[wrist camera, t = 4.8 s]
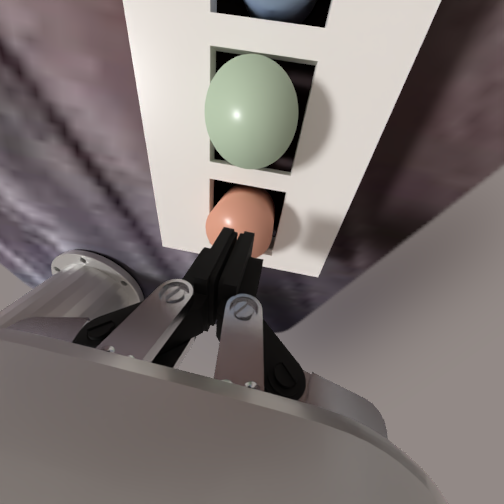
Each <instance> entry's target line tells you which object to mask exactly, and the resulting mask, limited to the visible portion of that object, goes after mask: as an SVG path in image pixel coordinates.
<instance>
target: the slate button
mask: <svg viewBox="0 0 504 504" xmlns="http://www.w3.org/2000/svg"><path fill="white" fill-rule="evenodd" d="M243 2H244V4H245V7H246V9H247V11H248V13H249V15H250V17H251V18H257V19H264V20H272V21H279V22H286V23H293V24H301V23H302V22H303V21H304V20H305V19H306V18H307V16H308V15H309V14H310V12H311V11H312V9H313V8H314V6H315V4H316V2H317V0H243Z"/></svg>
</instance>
